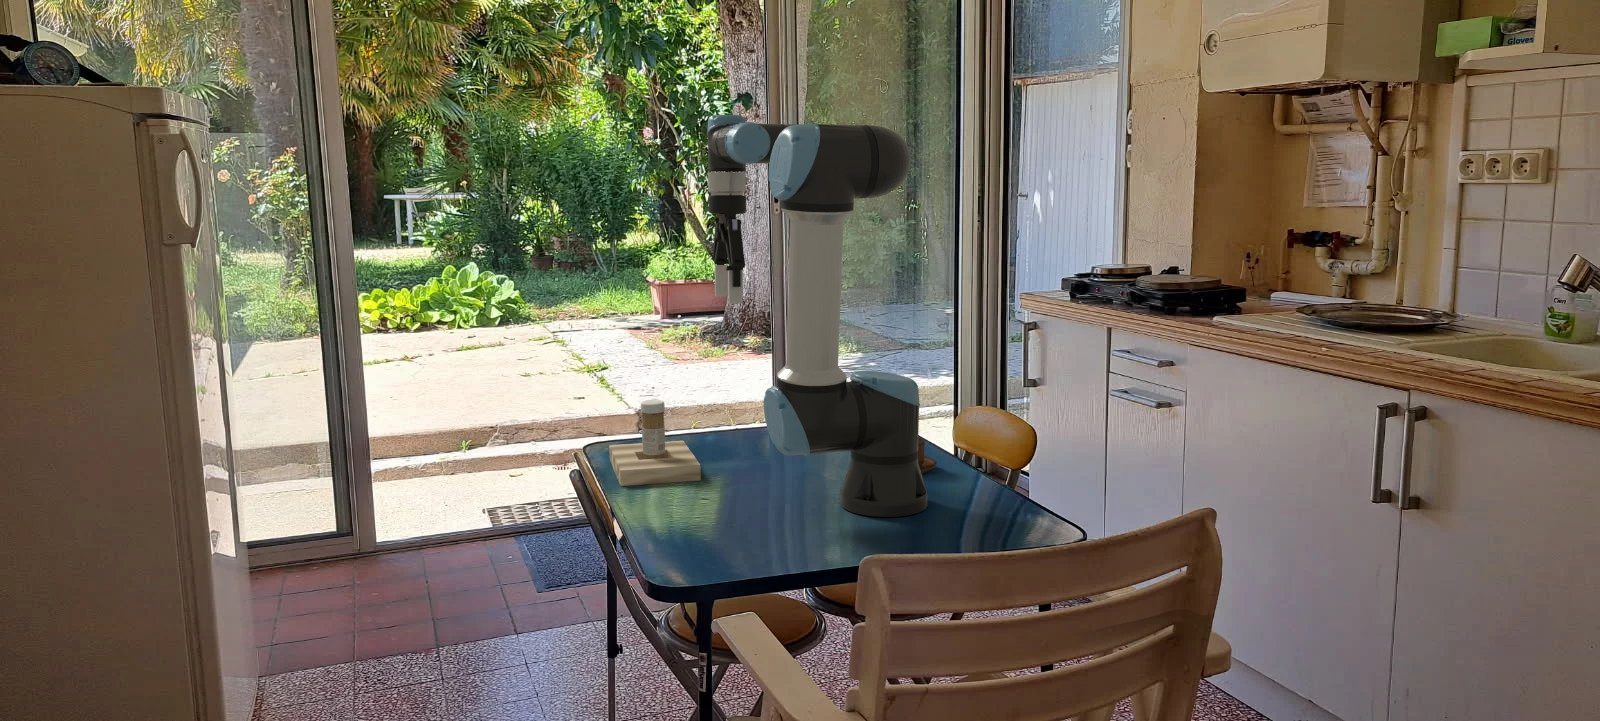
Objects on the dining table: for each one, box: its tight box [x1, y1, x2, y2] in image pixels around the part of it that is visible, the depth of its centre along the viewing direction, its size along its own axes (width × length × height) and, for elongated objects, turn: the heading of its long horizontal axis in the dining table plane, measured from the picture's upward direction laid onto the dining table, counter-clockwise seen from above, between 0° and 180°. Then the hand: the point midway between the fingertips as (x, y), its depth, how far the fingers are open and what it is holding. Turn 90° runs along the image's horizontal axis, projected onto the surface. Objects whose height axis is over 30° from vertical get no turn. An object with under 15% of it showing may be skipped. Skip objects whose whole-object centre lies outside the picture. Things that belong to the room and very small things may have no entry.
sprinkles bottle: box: [640, 399, 666, 460], centre depth 215 cm, size 5×5×14 cm
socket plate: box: [608, 440, 702, 487], centre depth 216 cm, size 20×15×3 cm
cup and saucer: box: [918, 436, 937, 474], centre depth 215 cm, size 12×12×6 cm
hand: (728, 299), depth 225 cm, fingers open, 13 cm apart
